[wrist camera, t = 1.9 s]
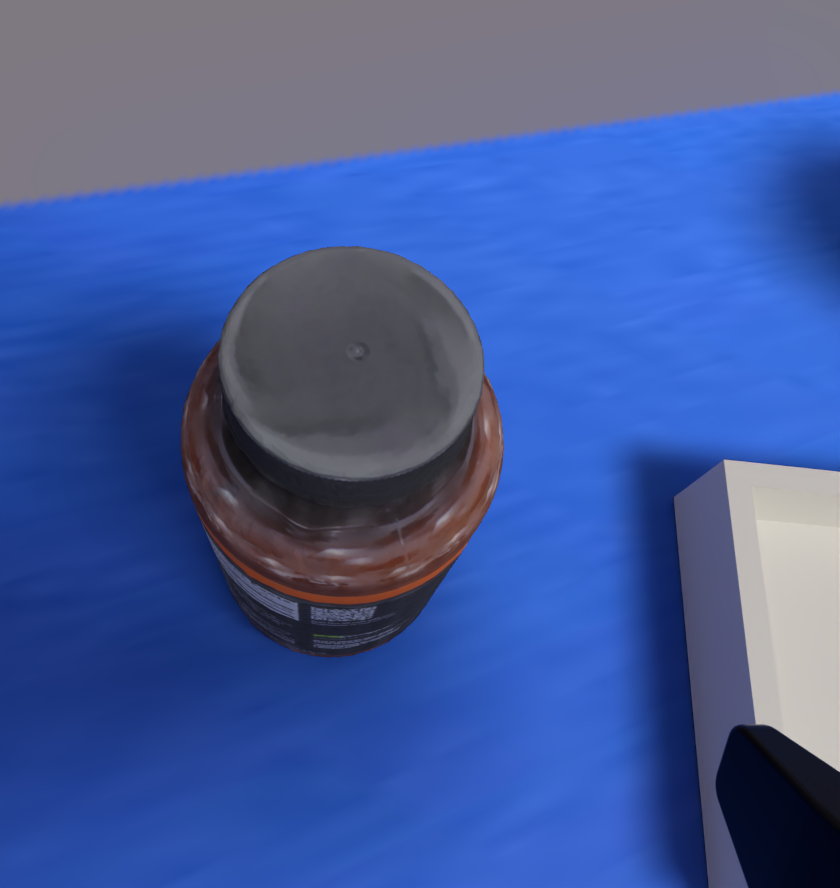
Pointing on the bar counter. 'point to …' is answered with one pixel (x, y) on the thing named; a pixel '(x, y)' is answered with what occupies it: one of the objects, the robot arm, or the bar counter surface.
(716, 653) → the tray
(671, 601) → the bar counter surface
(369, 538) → the supplement bottle
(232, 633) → the bar counter surface
